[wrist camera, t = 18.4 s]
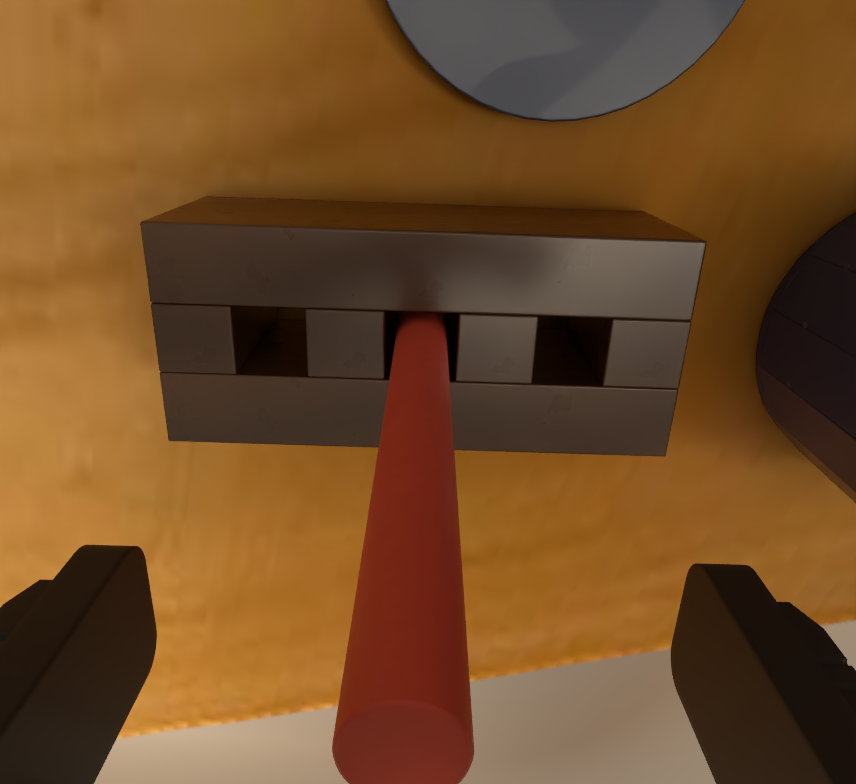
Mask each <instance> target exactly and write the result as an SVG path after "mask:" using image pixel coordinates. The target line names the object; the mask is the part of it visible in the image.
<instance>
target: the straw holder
mask: <svg viewBox="0 0 856 784" xmlns="http://www.w3.org/2000/svg"><path fill="white" fill-rule="evenodd" d="M140 225H141V232H142V240H143V247H144V255H145V263H146V270H147V278H148V285H149V293H150V301H151V302H152V304H151V309H152V317H153V325H154V332H155V340H156V347H157V355H158V363H159V370H160V371H161V372H160V379H161V386H162V394H163V401H164V409H165V416H166V424H167V432H168V439H169V441H189V442H221V443H253V444H285V445H316V446H348V447H379V443H380V436H381V430H382V423H383V417H384V411H385V404H386V398H387V391H388V385H389V378H390V372H391V366H392V359H393V353H394V346H395V340H396V334H397V327H398V324H394V311H411V312H441V313H451V321H450V325H451V326H449V325H446V336H447V351H448V366H449V381H450V396H451V411H452V426H453V441H454V450H475V451H507V452H538V453H570V454H602V455H633V456H666V451H667V446H668V441H669V436H670V430H671V425H672V420H673V415H674V410H675V405H676V399H677V394H678V389H677V388H679V384H680V378H681V373H682V368H683V363H684V358H685V353H686V347H687V342H688V337H689V332H690V327H691V321H690V320H691V319H692V315H693V310H694V305H695V300H696V294H697V289H698V284H699V279H700V274H701V269H702V263H703V258H704V253H705V248H706V241H705V240H703V239H701V238H698V237H696V236H694V235H692V234H690V233H688V232H686V231H684V230H682V229H680V228H678V227H675V226H673V225H671V224H669V223H667V222H665V221H663V220H661V219H659V218H657V217H655V216H652V215H650V214H648V213H646V212H640V211H611V210H582V209H553V208H524V207H495V206H467V205H438V204H409V203H380V202H351V201H322V200H293V199H264V198H235V197H207V196H206V197H204V198H201V199H199V200H196V201H194V202H191V203H188V204H186V205H183V206H181V207H178V208H175V209H173V210H170V211H168V212H165V213H162V214H160V215H157V216H155V217H152V218H149V219H147V220H144V221H142V222H141V224H140ZM276 307H290V308H306V309H305V321H298V320H276V319H277V311H276ZM538 316H561V317H568V326H567V329H540V328H538Z"/></svg>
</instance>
